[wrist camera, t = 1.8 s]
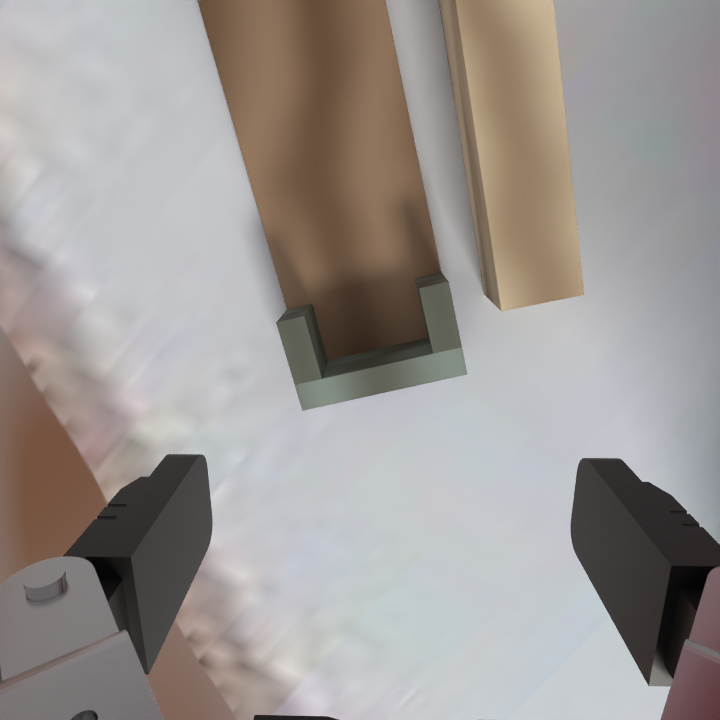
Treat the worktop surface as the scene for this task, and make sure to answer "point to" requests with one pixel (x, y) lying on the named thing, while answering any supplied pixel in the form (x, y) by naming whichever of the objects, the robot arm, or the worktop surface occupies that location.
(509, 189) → the slat
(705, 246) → the worktop surface
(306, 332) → the holder
